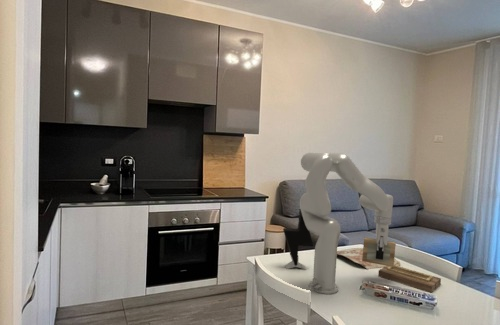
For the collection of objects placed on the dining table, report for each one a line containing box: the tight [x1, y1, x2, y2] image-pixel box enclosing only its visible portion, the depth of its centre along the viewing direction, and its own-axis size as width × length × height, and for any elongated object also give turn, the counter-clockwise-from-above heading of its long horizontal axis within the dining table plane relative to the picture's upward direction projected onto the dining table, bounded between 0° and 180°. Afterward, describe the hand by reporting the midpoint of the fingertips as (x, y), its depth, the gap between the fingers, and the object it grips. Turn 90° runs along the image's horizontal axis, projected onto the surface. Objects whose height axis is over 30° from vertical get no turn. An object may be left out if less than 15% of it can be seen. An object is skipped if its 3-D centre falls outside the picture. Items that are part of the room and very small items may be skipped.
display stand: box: [377, 265, 442, 294], centre depth 161 cm, size 14×24×4 cm, turn 45°
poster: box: [337, 247, 401, 270], centre depth 189 cm, size 28×6×30 cm
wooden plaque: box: [362, 237, 397, 267], centre depth 159 cm, size 4×14×11 cm, turn 69°
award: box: [283, 209, 314, 270], centre depth 170 cm, size 15×5×30 cm, turn 92°
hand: (379, 257), depth 159 cm, fingers closed on wooden plaque, 3 cm apart
